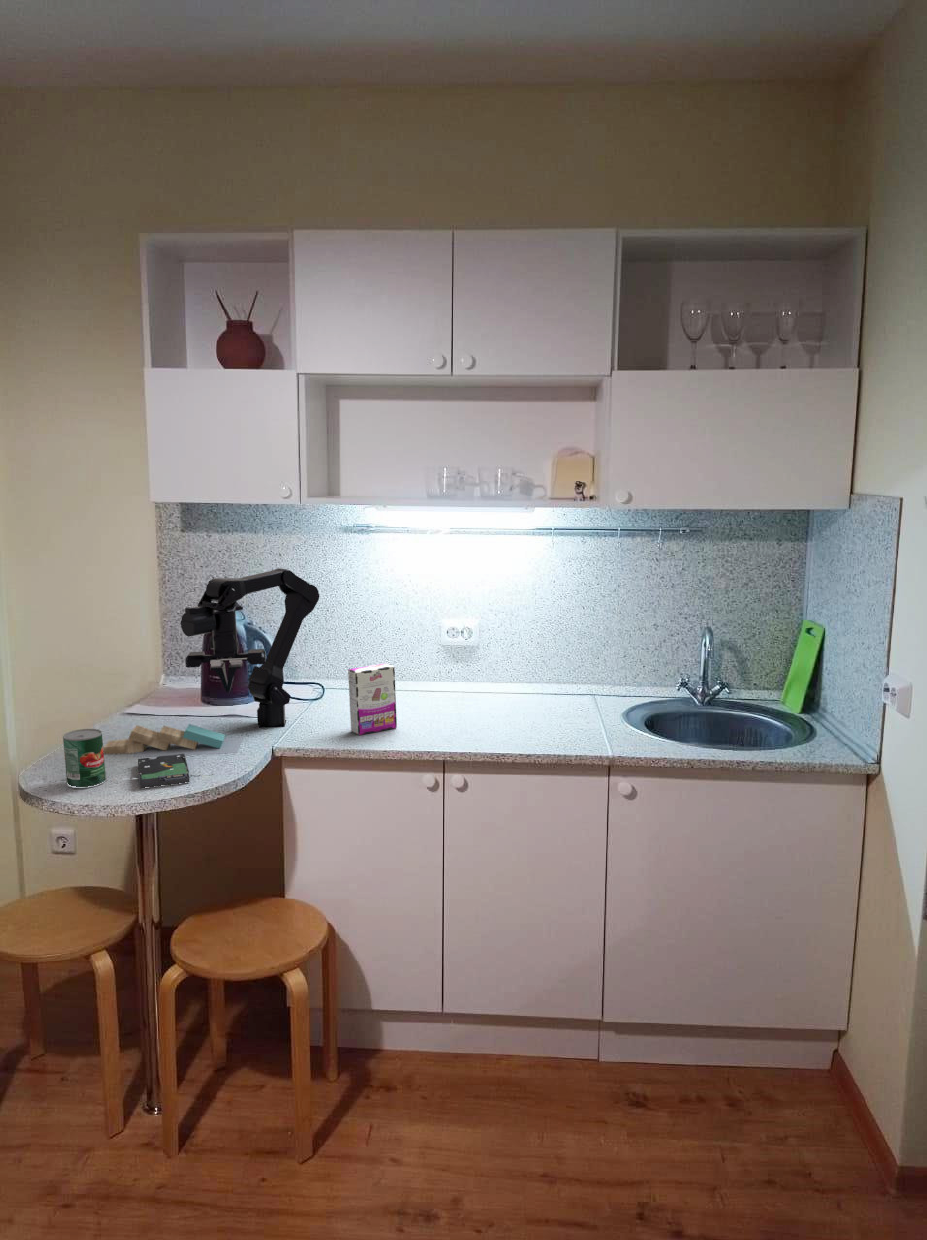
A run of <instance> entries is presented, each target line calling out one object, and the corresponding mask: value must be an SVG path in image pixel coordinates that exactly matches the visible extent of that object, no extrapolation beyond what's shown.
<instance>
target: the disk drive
mask: <svg viewBox="0 0 927 1240" xmlns="http://www.w3.org/2000/svg"><path fill="white" fill-rule="evenodd" d="M137 766H138V767H137V768H138V779H139V787H140V788H145V787H154V786H161V785H170V786H172V785H171V784H178V785H180V784H179V783H185V782H190V781H191V780H190V779H191V778H190V771H189V767H188V763H187V760H186V755H185V754H177V755H169V756H156V757H155V758H149V757H143V758H142V757H140V758H138V759H137ZM140 788H139V789H140ZM154 788H155V787H154Z"/></svg>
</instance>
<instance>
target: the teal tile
mask: <svg viewBox="0 0 927 1240" xmlns="http://www.w3.org/2000/svg"><path fill="white" fill-rule="evenodd" d="M184 731H185V733H184V736H183V738H185V739H188V740H192V741H195V742H199V743H202V744H205V745H209V746H212V747H216V748H219V749H220V748H221V746H222V744H223V742H224V739H225V738H226V734H224V733H220V732H217V731H215V730H210V729H207V728H203V727H201V726H197V725H193V724H188V725H187V727H186V729H185V730H184Z"/></svg>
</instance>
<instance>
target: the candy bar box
mask: <svg viewBox="0 0 927 1240" xmlns="http://www.w3.org/2000/svg"><path fill="white" fill-rule="evenodd" d="M395 671H396V670H395V665H392V664H389V663H379V664H372V665H368V666H361V667H355V668H349V669H347V675H348V694H349V695H348V696H349V715H350V716H349V717H350V731H351V732H352V733H354V734H356V735H358V736H362V735H368V734H373V733H374V734H375V733H378V732H382V731H383V732H384V731H387V730H393V729H396V728H398V727H397V725H398V723H397V720H398V719H397V700H396V699H397V698H396V694H397V693H396V673H395Z"/></svg>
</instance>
